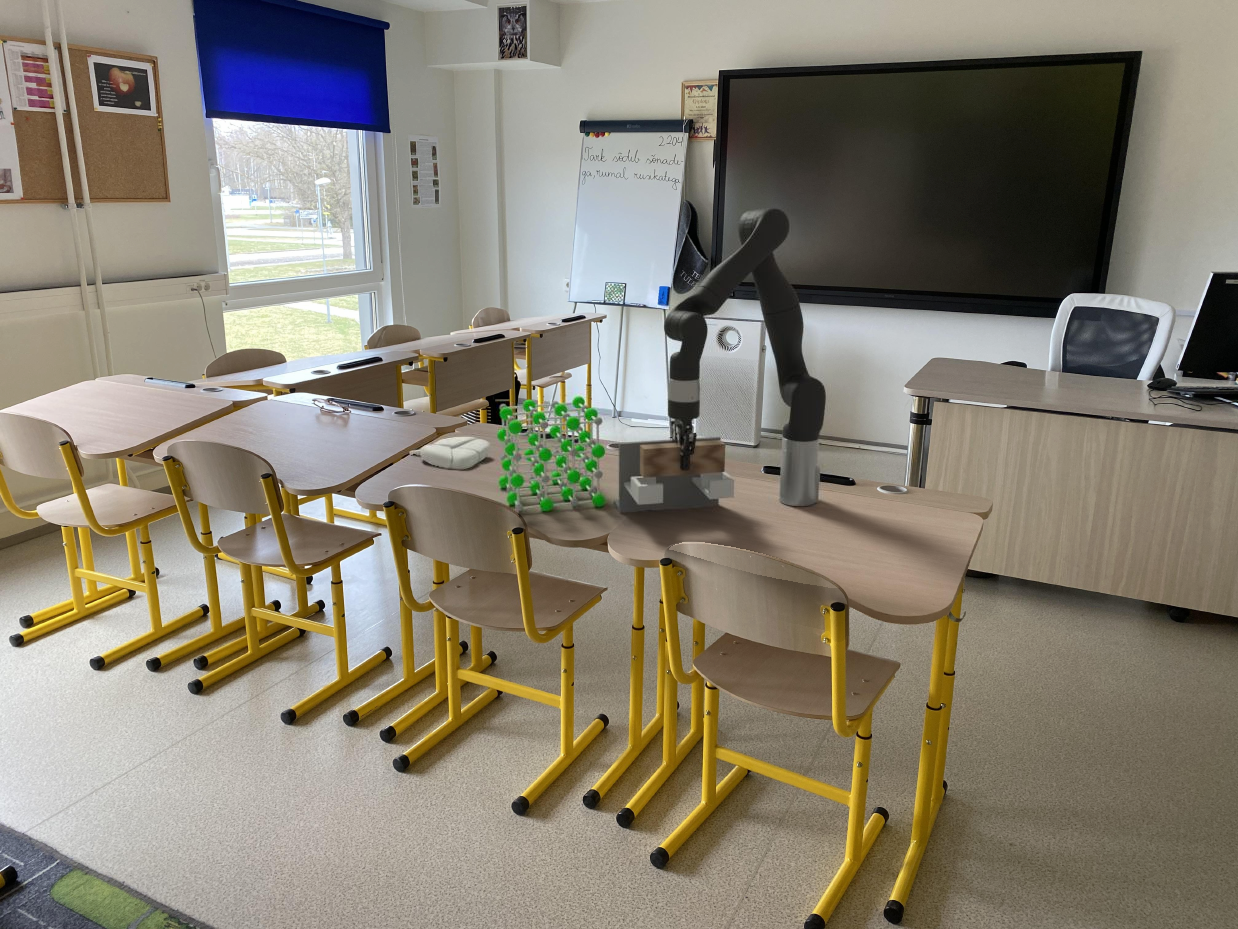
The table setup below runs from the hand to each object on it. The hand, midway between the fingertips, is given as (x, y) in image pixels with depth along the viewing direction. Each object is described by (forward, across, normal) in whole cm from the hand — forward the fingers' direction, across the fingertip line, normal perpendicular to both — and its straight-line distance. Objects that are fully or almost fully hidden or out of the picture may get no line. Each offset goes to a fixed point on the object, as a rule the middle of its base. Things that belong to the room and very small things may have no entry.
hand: (682, 467), depth 219 cm
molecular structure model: (+15, +27, +28) cm, 41 cm away
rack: (+14, +7, 0) cm, 16 cm away
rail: (+1, 0, 0) cm, 1 cm away
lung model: (+15, +69, +54) cm, 88 cm away
